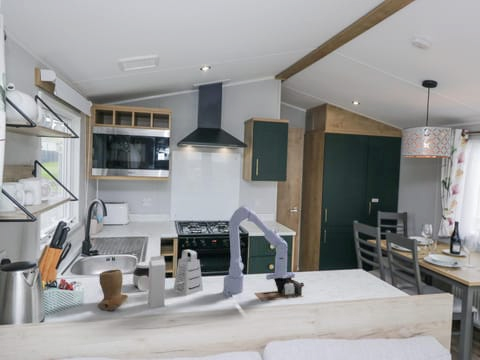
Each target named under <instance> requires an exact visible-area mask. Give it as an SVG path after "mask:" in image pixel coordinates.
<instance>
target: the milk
mask: <svg viewBox="0 0 480 360" xmlns="http://www.w3.org/2000/svg"><path fill="white" fill-rule="evenodd" d="M148 262H149V288H148V290H147V291H148V293H147V296H148V297H147V304H148V305H149V307H150V308H151V309H154V308H160V307H161V308H162V307H165V299H166V298H165V297H166V296H165V295H166V289H165V288H166V260H165V256H164V255H156V256H155V255H154V256H150V261H148Z"/></svg>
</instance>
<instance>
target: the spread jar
mask: <svg viewBox="0 0 480 360" xmlns="http://www.w3.org/2000/svg"><path fill="white" fill-rule="evenodd" d="M149 262H150V261H141V262H138V263H136V264H137V265H136V268H135V269H134V271H133V275H132V283H133V285H134V286H135V287H137V289H139V291H143V292H144V291H145V292H146V291H148V288H149Z"/></svg>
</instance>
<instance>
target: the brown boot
mask: <svg viewBox="0 0 480 360" xmlns="http://www.w3.org/2000/svg"><path fill="white" fill-rule="evenodd" d="M98 280H99V285H100V288H101V291H102V293H103V298H102V300H101V301H99V303H98V304H97V307H98V308H100V309H102V310H104V311H108V312H109V311H114V310H117V309H118V308H119V307H120V306H122V305H123V304H124V303H125V302H126V301H127V299H128V298H129V295H127V294H124V293H121V291H122V286H123V282H124V281H123V273H122V271H121V269H118V268H117V269H107V270H104V271H102V272H100V273H99V279H98Z"/></svg>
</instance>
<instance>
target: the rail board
mask: <svg viewBox="0 0 480 360" xmlns="http://www.w3.org/2000/svg"><path fill="white" fill-rule="evenodd" d="M292 285H293V286H294V287H295V286H296V288H297V289H296V290H294V295H286V296H284V295H283V294H282V293H281V294H279V293H278V290H273V291H263V292H254V295H255V296H256V297H257V298H258V299H259V300H260V301H261V302H267V301H277V300H286V299H287V300H288V299H298V298H304V295H303V294H302V291H303V287H302V285H301V284H300V282H299V283H298V281H297V280H294V281H293V284H292Z"/></svg>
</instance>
